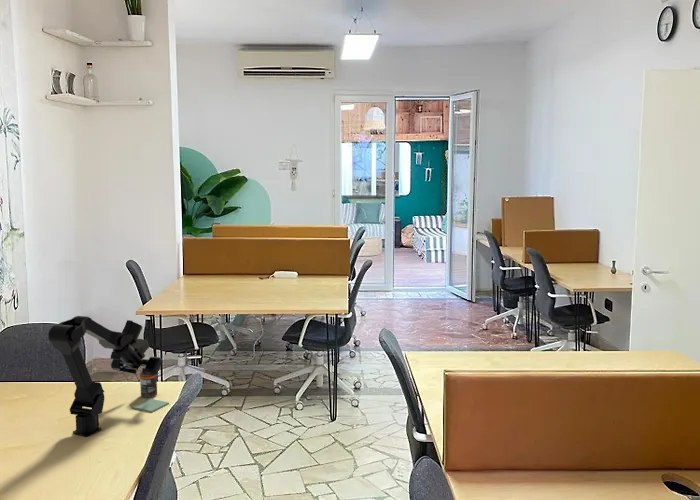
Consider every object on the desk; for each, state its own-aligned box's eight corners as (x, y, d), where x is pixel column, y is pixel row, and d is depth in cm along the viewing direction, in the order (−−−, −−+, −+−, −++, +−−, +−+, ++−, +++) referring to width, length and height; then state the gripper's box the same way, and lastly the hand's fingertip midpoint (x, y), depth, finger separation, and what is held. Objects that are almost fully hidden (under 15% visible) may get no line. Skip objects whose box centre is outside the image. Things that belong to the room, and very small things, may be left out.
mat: (151, 412, 224) (151, 411, 224) (132, 408, 227) (131, 406, 227) (168, 404, 232) (168, 402, 232) (149, 399, 236) (149, 398, 235)
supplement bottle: (151, 391, 244) (150, 362, 243) (160, 395, 241) (159, 366, 239) (137, 395, 240) (136, 366, 238) (146, 399, 236) (145, 370, 234)
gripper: (158, 336, 228) (176, 357, 240) (114, 331, 233) (133, 352, 245) (146, 364, 221) (165, 384, 234) (101, 359, 227) (121, 378, 239)
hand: (146, 374), depth 238 cm, fingers open, 9 cm apart
